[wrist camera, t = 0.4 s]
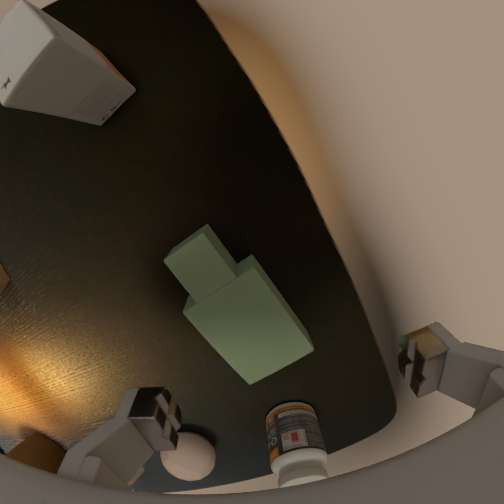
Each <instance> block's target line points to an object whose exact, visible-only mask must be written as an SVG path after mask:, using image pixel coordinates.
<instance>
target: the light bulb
mask: <svg viewBox="0 0 504 504" xmlns="http://www.w3.org/2000/svg"><path fill="white" fill-rule="evenodd" d="M177 434H178V436H179V439H178V444H177V449H176V450H173V451H161V453H160V456H161V460H162V464H163V465H164V467H165V468H166V469H167V471H168V472H169V473H171V474H172V475H174V476H175V477H177V478H179V479H183V480H188V481H193V480H200V479H202V478H204V477H205V476H207V475H209V473H210V472H211V471H212V469H213V468H214V464H215V457H216V454H215V451H214V448H213V446H212V445H211V444H210V442H209V441H208V440H207V439H206V438H204V437H202V436H201V435H199V434H197V433H192V432H178V433H177Z"/></svg>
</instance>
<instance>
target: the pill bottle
mask: <svg viewBox="0 0 504 504" xmlns="http://www.w3.org/2000/svg"><path fill="white" fill-rule="evenodd" d="M266 430H267V438H268V447H269V455H270V464H271V469H272V471H273V473H274V474H275V475H277V476H279V479H278V485H279V488H283V487H289V486H294V485H300V484H305V483H309V482H314V481H318V480H322V479H326V478H328V475H327V471H326V470H325V469H324V468H323V467H324V466H325V465H326V463H327V459H328V457H327V451H326V448H325V444H324V442H323V438H322V434H321V431H320V426H319V424H318V420H317V417H316V414H315V411H314V409H313V408H312V407H311V406H310V405H308V404H305V403H302V402H289V403H285V404H282V405H279V406H277V407H275V408H274V409H273V410H271V411H270V412H269V414H268V415H267V417H266Z"/></svg>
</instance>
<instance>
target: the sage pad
mask: <svg viewBox="0 0 504 504" xmlns="http://www.w3.org/2000/svg"><path fill="white" fill-rule="evenodd" d="M164 263H165V264H166V265H167V266H168V268H169V269H170V270H171V272H172V273H173V274H174V275H175V277H176V278H177V279H178V280H179V282H180V283H181V284H182V285H183V287H184V288H185V289H186V290H187V291H188V293H189V294H190V295H189V296H188V299H187V302H186V304H185V307H184V310H183V314H184V315H185V316H186V317H187V319H188V320H189V321H190V322H191V323H192V324H193V325H194V327H195V328H196V329H197V330H198V331H199V332H200V333H201V334H202V335H203V337H204V338H205V339H206V340H207V341H208V342H209V343H210V344H211V345H212V346H213V348H214V349H215V350H216V351H217V352H218V353H219V354H220V355H221V356H222V357H223V358H224V359H225V360H226V361H227V362H228V363H229V364H230V365H231V367H232V368H233V369H234V370H235V371H236V372H237V373H238V374H239V375H240V376H241V377H242V378H243V379H244V380H245V381H246V382H247V383H248V384H249V385H250V384H252V383H254V382H256V381H258V380H260V379H262V378H264V377H266V376H268V375H270V374H272V373H274V372H276V371H278V370H280V369H282V368H283V367H285V366H287V365H289V364H291V363H293V362H294V361H296V360H298V359H300V358H301V357H303V356H305V355H307V354H308V353H310V352H312V351H314V347H313V345H312V342H311V339H310V337H309V334H308V332H307V330H306V329H305V327H304V326H303V324H302V323H301V322H300V320H299V319H298V317H297V316H296V315H295V313H294V312H293V310H292V309H291V308H290V306H289V305H288V303H287V302H286V301H285V299H284V298H283V296H282V295H281V294H280V292H279V291H278V289H277V288H276V287H275V285H274V284H273V282H272V281H271V280H270V278H269V277H268V275H267V274H266V273H265V271H264V270H263V268H262V267H261V266H260V264H259V263H258V261H257V260H256V259H255V257H254V256H253V255H250V256H249V257H247V258H246V259H244V260H242V261H241V262H239V263H238V264H237V263H236V262H235V260H234V259H233V258H232V256H231V255H230V254H229V252H228V251H227V249H226V248H225V247H224V245H223V244H222V243H221V241H220V240H219V239H218V237H217V236H216V234H215V233H214V232H213V230H212V229H211V228H210V226H209V225H208V224H206V225H205V226H203V227H202V228H200V229H199V230H198V231H196V232H195V233H193V234H192V235H191V236H189V237H188V238H186V239H185V240H184V241H182V242H181V243H180V244H178V245H177V246H175V247H174V248H173V249H172V250H171V251H170V253H169V254H168V255H167V257H166V258H165V259H164Z"/></svg>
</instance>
